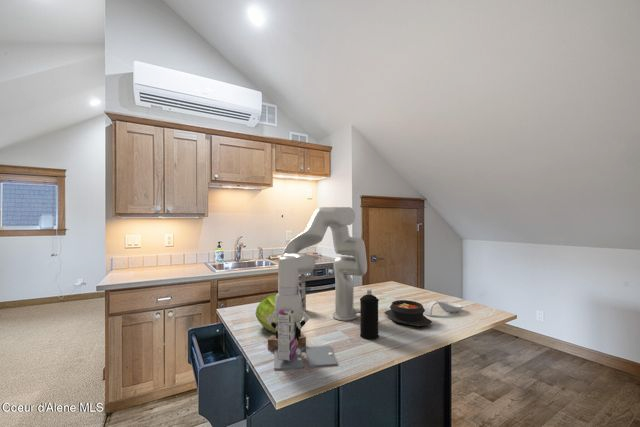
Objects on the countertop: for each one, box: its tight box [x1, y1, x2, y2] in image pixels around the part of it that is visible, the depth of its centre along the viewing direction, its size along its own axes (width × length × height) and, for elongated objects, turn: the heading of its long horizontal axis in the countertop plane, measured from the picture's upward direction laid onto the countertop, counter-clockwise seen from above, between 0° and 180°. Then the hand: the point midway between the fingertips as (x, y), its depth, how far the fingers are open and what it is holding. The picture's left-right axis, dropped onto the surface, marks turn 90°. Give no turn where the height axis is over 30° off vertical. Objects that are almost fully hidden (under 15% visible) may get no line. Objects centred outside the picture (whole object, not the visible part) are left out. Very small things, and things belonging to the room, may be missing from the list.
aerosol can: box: [359, 289, 380, 341], centre depth 123 cm, size 8×8×20 cm
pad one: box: [304, 345, 339, 368], centre depth 104 cm, size 10×14×1 cm
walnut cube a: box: [298, 333, 307, 349], centre depth 113 cm, size 4×4×4 cm
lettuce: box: [255, 294, 277, 334], centre depth 129 cm, size 15×24×16 cm
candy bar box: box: [278, 311, 298, 361], centre depth 103 cm, size 11×5×16 cm, turn 170°
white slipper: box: [423, 299, 463, 317], centre depth 154 cm, size 24×12×7 cm, turn 117°
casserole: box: [383, 299, 433, 327], centre depth 142 cm, size 25×19×8 cm
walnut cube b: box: [267, 335, 278, 351], centre depth 112 cm, size 4×4×4 cm
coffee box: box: [299, 280, 307, 312], centre depth 157 cm, size 9×6×16 cm
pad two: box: [273, 348, 305, 371], centre depth 103 cm, size 10×14×1 cm
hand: (288, 339), depth 103 cm, fingers closed on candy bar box, 6 cm apart
